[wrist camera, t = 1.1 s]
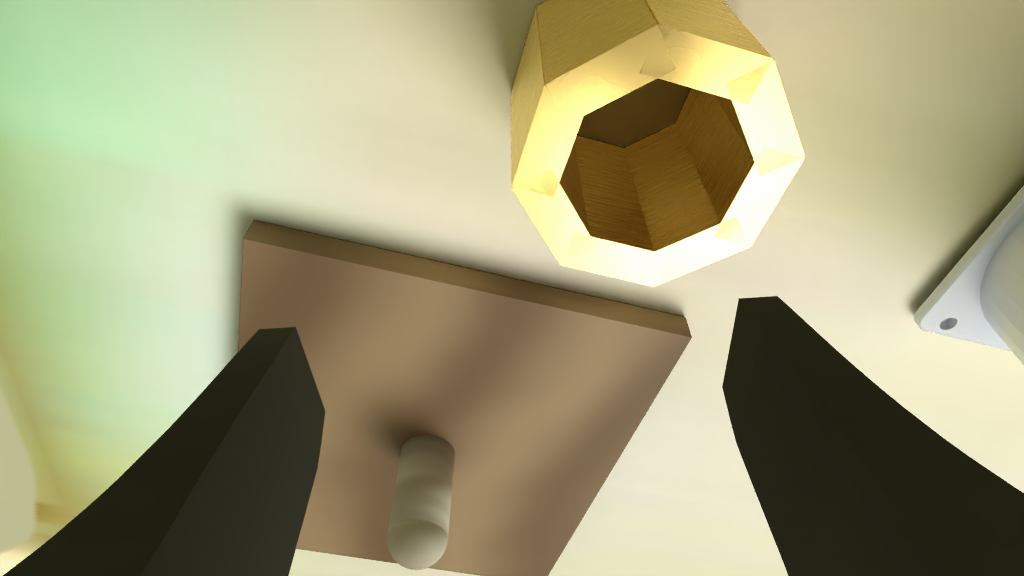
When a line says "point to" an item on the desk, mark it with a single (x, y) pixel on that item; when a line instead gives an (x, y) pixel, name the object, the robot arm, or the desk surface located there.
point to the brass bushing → (659, 157)
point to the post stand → (454, 399)
